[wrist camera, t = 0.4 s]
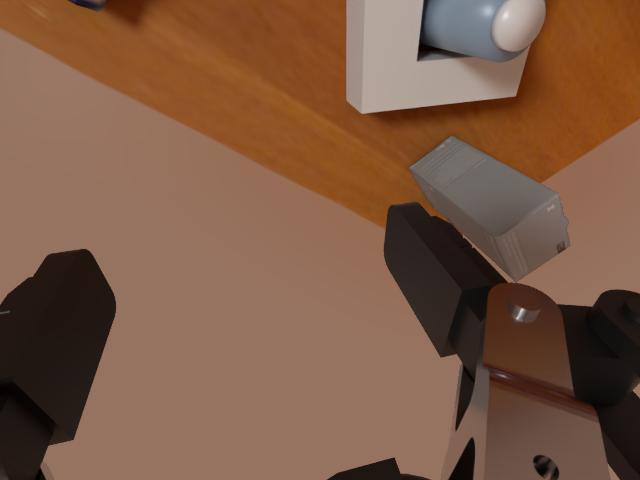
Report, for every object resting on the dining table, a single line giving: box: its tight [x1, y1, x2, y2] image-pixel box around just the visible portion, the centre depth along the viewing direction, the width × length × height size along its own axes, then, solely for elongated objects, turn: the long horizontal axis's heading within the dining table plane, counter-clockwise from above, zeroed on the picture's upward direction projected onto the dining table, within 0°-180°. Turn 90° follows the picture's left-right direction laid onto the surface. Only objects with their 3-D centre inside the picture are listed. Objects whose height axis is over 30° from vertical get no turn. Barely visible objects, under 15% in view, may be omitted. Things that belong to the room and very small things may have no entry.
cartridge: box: [419, 0, 546, 62], centre depth 27 cm, size 5×5×13 cm
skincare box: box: [409, 136, 570, 282], centre depth 37 cm, size 8×7×16 cm
